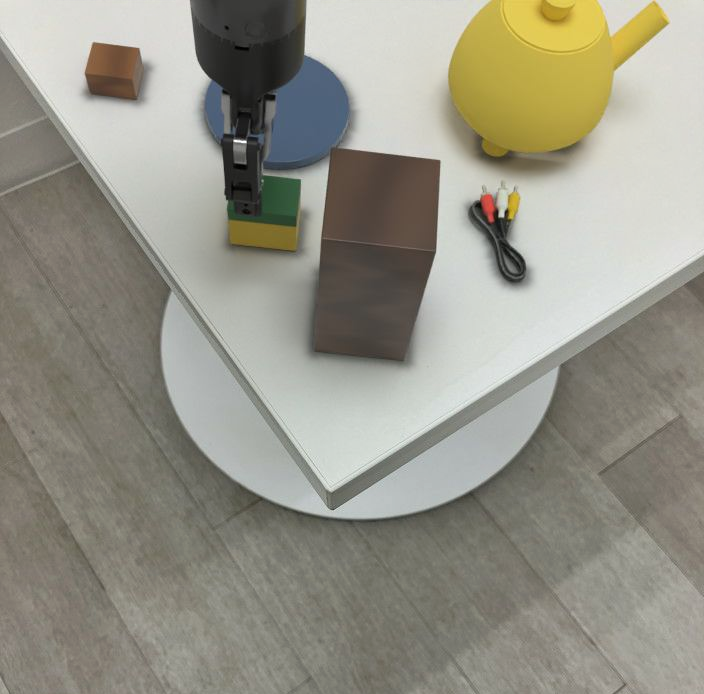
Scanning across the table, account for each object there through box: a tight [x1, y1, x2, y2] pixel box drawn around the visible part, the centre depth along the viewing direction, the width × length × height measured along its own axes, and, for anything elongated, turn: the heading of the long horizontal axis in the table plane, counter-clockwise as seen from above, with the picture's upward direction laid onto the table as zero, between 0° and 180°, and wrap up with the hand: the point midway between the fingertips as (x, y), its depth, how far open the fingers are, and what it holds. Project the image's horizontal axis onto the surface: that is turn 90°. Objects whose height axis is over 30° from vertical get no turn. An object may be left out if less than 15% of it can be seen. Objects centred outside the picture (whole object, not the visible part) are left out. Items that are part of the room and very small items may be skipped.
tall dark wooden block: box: [313, 147, 442, 361], centre depth 64 cm, size 8×8×16 cm
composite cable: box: [468, 180, 527, 283], centre depth 74 cm, size 10×5×2 cm, turn 4°
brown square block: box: [84, 41, 145, 100], centre depth 77 cm, size 4×4×2 cm
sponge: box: [226, 174, 302, 252], centre depth 71 cm, size 6×4×5 cm, turn 86°
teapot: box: [447, 0, 670, 157], centre depth 74 cm, size 20×16×14 cm
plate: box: [204, 54, 350, 170], centre depth 78 cm, size 14×14×1 cm
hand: (254, 171), depth 66 cm, fingers open, 8 cm apart
